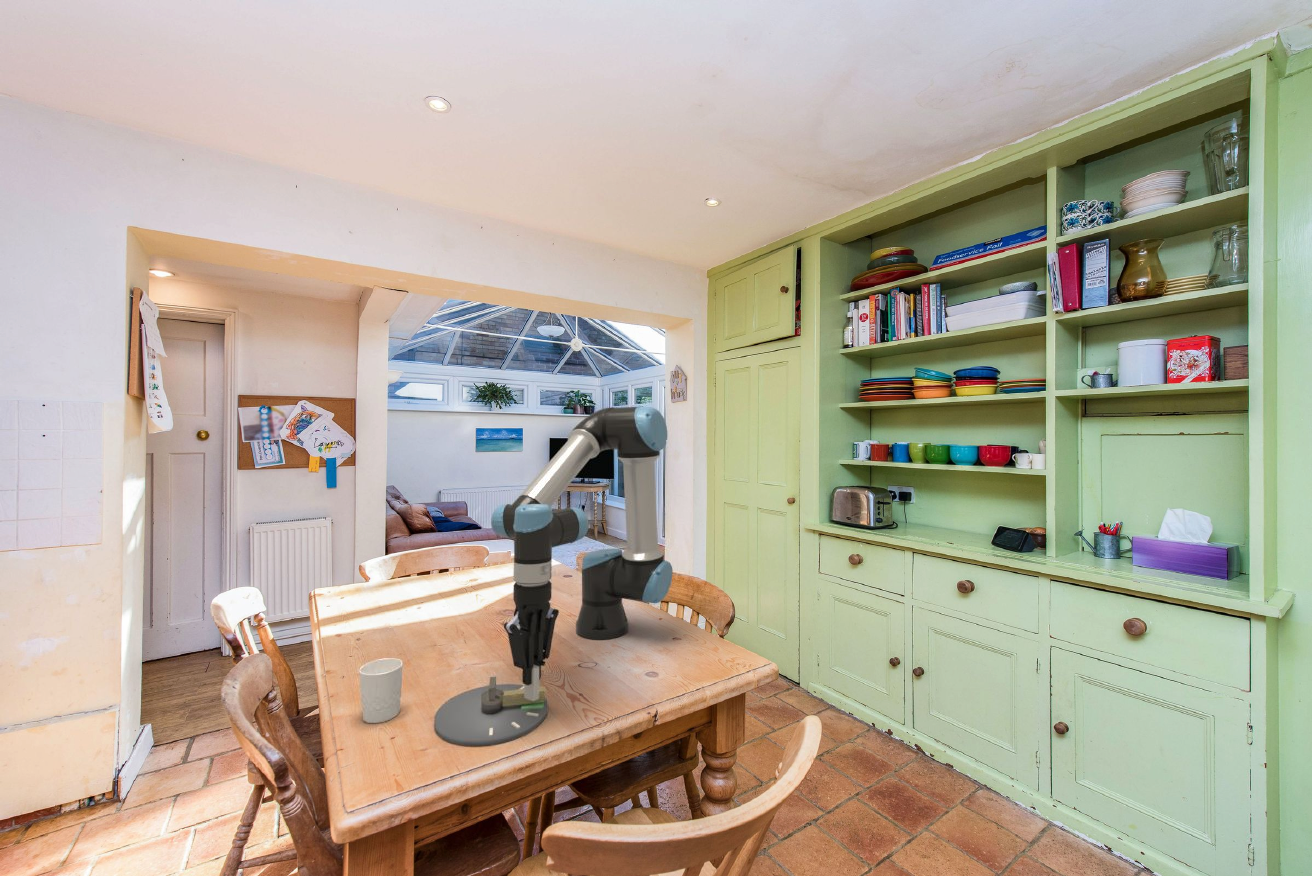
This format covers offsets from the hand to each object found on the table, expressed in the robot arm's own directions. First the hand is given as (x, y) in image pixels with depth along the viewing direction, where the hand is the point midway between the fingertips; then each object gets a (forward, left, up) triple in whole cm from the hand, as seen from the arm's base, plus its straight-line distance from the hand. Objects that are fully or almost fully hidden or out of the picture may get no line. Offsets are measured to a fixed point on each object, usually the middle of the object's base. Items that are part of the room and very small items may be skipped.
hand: (531, 698), depth 110 cm
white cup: (-22, -21, -4) cm, 31 cm away
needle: (-4, -2, -2) cm, 5 cm away
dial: (-6, -5, -4) cm, 9 cm away
